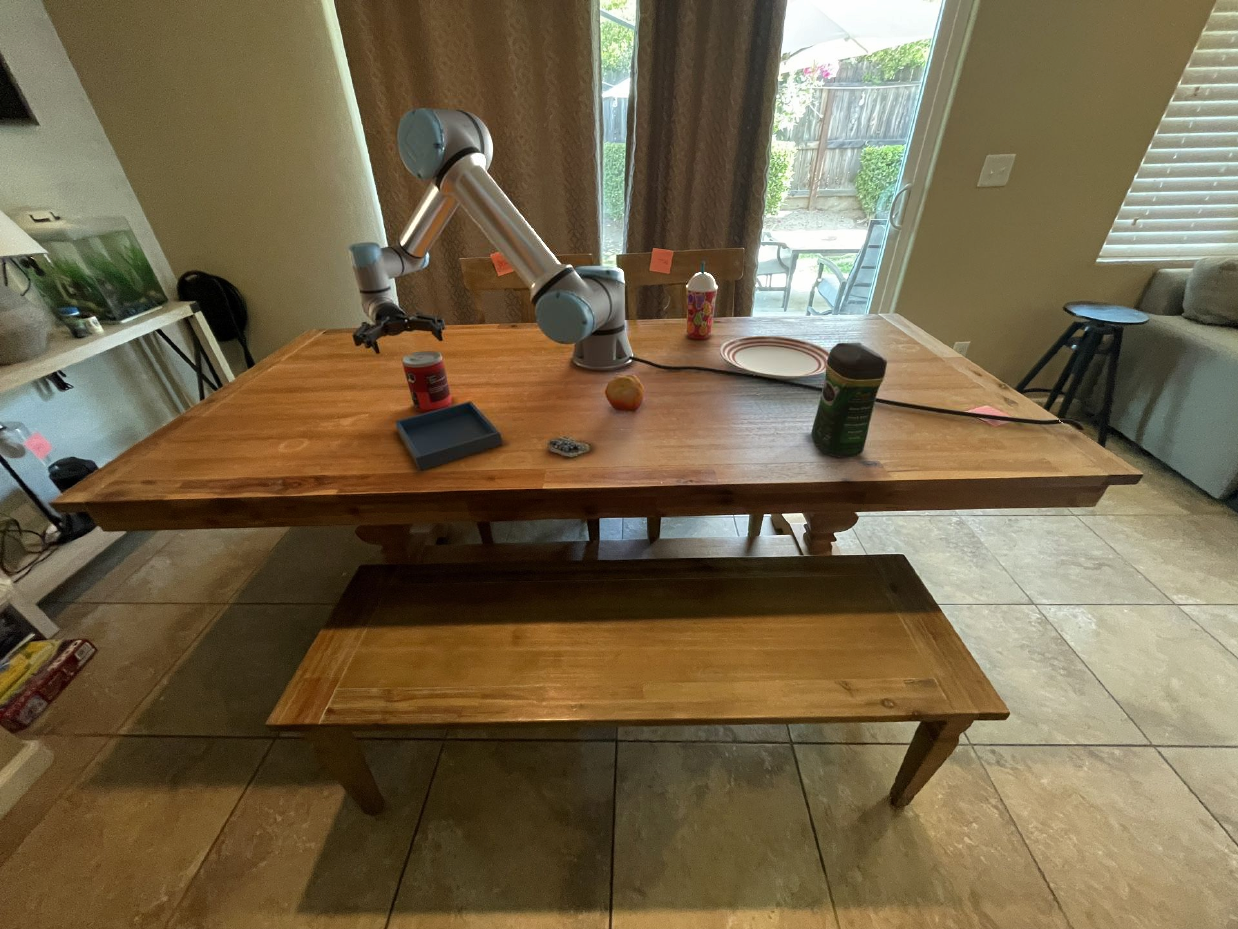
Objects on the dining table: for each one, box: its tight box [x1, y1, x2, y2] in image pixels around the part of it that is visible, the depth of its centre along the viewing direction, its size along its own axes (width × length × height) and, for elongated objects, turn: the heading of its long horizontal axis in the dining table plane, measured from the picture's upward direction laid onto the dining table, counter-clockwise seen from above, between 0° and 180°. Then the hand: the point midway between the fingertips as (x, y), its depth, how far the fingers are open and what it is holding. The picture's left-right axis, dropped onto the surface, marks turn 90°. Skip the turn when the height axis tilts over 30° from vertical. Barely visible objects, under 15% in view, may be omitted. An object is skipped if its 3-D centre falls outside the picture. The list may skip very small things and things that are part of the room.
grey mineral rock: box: [545, 436, 591, 458], centre depth 93 cm, size 7×8×2 cm
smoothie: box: [685, 261, 718, 340], centre depth 138 cm, size 8×8×20 cm
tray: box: [394, 400, 503, 472], centre depth 96 cm, size 16×15×3 cm
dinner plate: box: [719, 335, 830, 380], centre depth 123 cm, size 27×27×3 cm
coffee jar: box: [810, 341, 888, 458], centre depth 87 cm, size 10×8×19 cm
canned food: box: [401, 350, 452, 413], centre depth 107 cm, size 8×8×11 cm
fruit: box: [604, 373, 645, 412], centre depth 105 cm, size 8×8×8 cm
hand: (409, 341), depth 110 cm, fingers open, 13 cm apart
